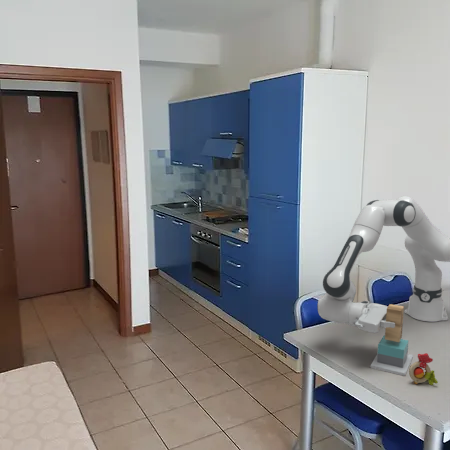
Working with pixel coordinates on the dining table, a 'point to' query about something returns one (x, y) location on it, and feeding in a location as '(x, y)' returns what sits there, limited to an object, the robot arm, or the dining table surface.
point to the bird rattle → (418, 372)
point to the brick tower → (392, 357)
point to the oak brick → (395, 316)
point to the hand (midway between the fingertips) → (397, 322)
